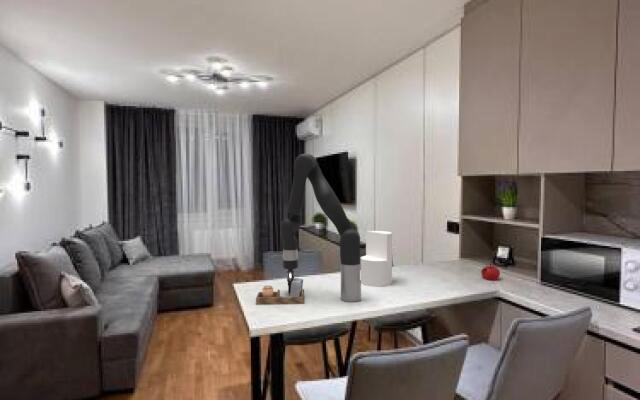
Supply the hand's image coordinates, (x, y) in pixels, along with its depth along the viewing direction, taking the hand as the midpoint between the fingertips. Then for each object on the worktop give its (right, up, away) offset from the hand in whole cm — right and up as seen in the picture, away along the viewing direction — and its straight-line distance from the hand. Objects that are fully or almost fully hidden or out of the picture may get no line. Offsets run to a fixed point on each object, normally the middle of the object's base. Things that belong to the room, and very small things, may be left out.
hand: (290, 293), depth 187 cm
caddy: (-4, -2, -10) cm, 10 cm away
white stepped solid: (+46, 0, +23) cm, 52 cm away
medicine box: (+3, -1, -5) cm, 6 cm away
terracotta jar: (-10, -1, -11) cm, 15 cm away
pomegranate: (+113, 0, +30) cm, 117 cm away
